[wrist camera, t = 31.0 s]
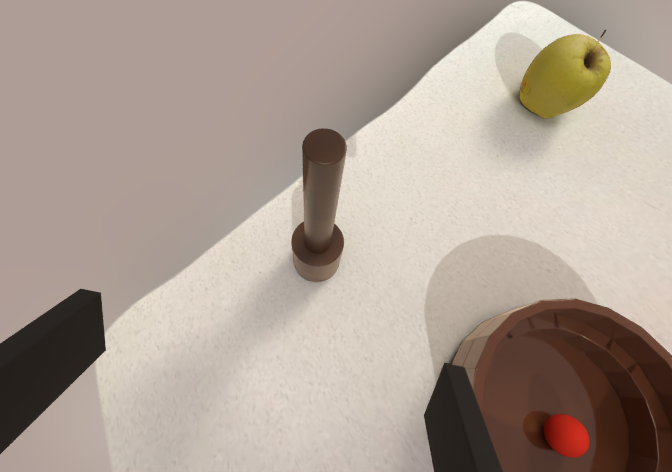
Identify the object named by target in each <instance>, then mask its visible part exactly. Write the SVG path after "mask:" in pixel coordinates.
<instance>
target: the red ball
mask: <svg viewBox="0 0 672 472" xmlns="http://www.w3.org/2000/svg"><path fill="white" fill-rule="evenodd" d="M544 435H545V438H546V440H547V442H548V444H549V445H550V446H551V447H552V449H554V450H555V451H556V452H557V453H559V454H561V455H563V456H566V457H570V458H576V457H580V456H582V455H583V454H585V453H586V451H587V450H588V447H589V435H588V433H587V431H586V429H585V427H584V426H583V425H582V424H581V423H580V422H579V421H578V420H577V419H575V418H574V417H572V416H569V415H566V414H555V415H553V416H551V417H549V418H548V419H547V421H546V422H545V425H544Z"/></svg>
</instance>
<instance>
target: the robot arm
mask: <svg viewBox="0 0 672 472" xmlns="http://www.w3.org/2000/svg"><path fill="white" fill-rule="evenodd" d="M105 351H106V347H105V336H104V324H103V313H102V302H101V293H99V292H94V291H89V290H84V289H80V290H78V291H77V292H75V293H74V294H72V295H71V296H69V297H68V298H66V299H65V300H63V301H62V302H60V303H59V304H58V305H56V306H55V307H53V308H52V309H50V310H49V311H47V312H46V313H44V314H43V315H41V316H40V317H38V318H37V319H36V320H34V321H33V322H31V323H30V324H28V325H27V326H25V327H24V328H22V329H21V330H20V331H18V332H17V333H15V334H14V335H12V336H11V337H9V338H8V339H6V340H5V341H3V342H2V343H0V454H1V453H2V452H3V451H4V450H5V449H6V448H7V447H8V446H9V445H10V444H11V443H12V442H13V441H14V440H15V439H16V438H17V437H18V436H19V435H20V434H21V433H22V432H23V431H24V430H25V429H26V428H27V427H28V426H29V425H30V424H31V423H32V422H33V421H34V420H36V419H37V418H38V417H39V415H41V414H42V413H43V412H44V411H45V410H46V408H48V407H49V406H50V405H51V404H52V402H54V401H55V400H56V399H57V398H58V397H59V396H60V395H61V394H62V393H63V392H64V391H65V390H66V389H67V388H68V387H69V386H70V385H71V384H72V383H73V382H74V381H75V380H76V379H77V378H78V377H79V376H80V375H81V374H82V373H83V372H84V371H85V370H86V369H87V368H88V367H89V366H90V365H91V364H92V363H93V362H94V361H95V360H96V359H97V358H98V357H99V356H100V355H101V354H102V353H104V352H105ZM424 419H425V424H426V430H427V435H428V440H429V446H430V451H431V457H432V462H433V468H434V472H503V471H502V468H501V465H500V463H499V460H498V457H497V454H496V452H495V449H494V446H493V443H492V441H491V438H490V435H489V432H488V430H487V427H486V424H485V421H484V419H483V416H482V413H481V410H480V408H479V405H478V402H477V400H476V397H475V394H474V391H473V389H472V386H471V383H470V380H469V378H468V375H467V372H466V369H465V367H462V366H457V365H452V364H447V363H444V366H443V368H442V371H441V373H440V376H439V378H438V381H437V383H436V386H435V388H434V391H433V394H432V396H431V399H430V401H429V404H428V406H427V409H426V411H425V414H424Z"/></svg>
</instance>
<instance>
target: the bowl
mask: <svg viewBox="0 0 672 472" xmlns="http://www.w3.org/2000/svg"><path fill="white" fill-rule="evenodd" d="M452 365H457V366H462V367H465V369H466V372H467V375H468V378H469V380H470V383H471V386H472V389H473V391H474V394H475V397H476V400H477V402H478V405H479V408H480V410H481V413H482V416H483V419H484V421H485V424H486V427H487V430H488V432H489V435H490V438H491V441H492V443H493V446H494V449H495V452H496V454H497V457H498V460H499V463H500V465H501V468H502V471H503V472H672V355H671V354H670V353H669V352H668V351H667V350H666V349H665V348H663V347H662V346H661V345H660V344H659V343H658V342H657V341H656V340H655V339H654V338H653V337H652V336H651V335H650V334H649V333H648V332H646V331H645V330H644V329H643V328H642V327H641V326H639V325H637V324H635V323H634V322H632V321H630V320H629V319H627V318H625V317H623V316H622V315H620V314H618V313H617V312H615V311H613V310H611V309H609V308H607V307H603V306H600V305H596V304H593V303H589V302H585V301H582V300H578V299H554V300H540V301H537V302H534V303H531V304H528V305H525V306H522V307H519V308H516V309H513V310H510V311H507V312H505V313H503V314H500V315H498V316H496V317H493V318H491V319H488V320H486V321H484V322H482V323H481V324H480V325H479V326H478V327H477V328H476V329H475V330H474V331H473V332H472V333H471V334H470V335H469V336H468V337H467V338H466V339H465V340H464V341H463V342H462V343H461V345H460V347H459V350H458V352H457V354H456V356H455V358H454V360H453V362H452ZM555 414H566V415H569V416H572V417H574V418H575V419H577V420H578V421H579V422H580V423H581V424H582V425H583V426H584V427H585V429H586V431H587V433H588V435H589V447H588V450H587V451H586V453H585V454H583V455H582V456H580V457H576V458H570V457H566V456H563V455H561V454H559V453H557V452H556V451H555V450H554V449H552V447H551V446H550V445H549V444H548V442H547V440H546V438H545V435H544V425H545V422H546V421H547V419H548V418H549V417H551V416H553V415H555Z"/></svg>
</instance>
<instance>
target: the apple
mask: <svg viewBox="0 0 672 472" xmlns="http://www.w3.org/2000/svg"><path fill="white" fill-rule="evenodd" d="M605 31H606V30H605ZM605 31H604V32H603V34H602V36H603V35H604V33H605ZM602 36H601V37H602ZM600 39H601V38H600ZM600 39H599V40H600ZM610 69H611V62H610V57H609V55H608V53H607V52H606V50H605V49H604V48H603V47H602V46H601V44H600V43H599V41H598V42H597V41H596V40H594V39H593V38H591V37H588V36H586V35H580V34H574V35H568V36H564V37H561V38H559V39H557V40H555V41H554V42H552V43H551V44H549V45H548V46H547V47H545V48H544V49H543V50H542V51H541V52H540V53H539V54H538V55H537V56H536V57H535V59H534V60H533V61H532V63H531V64H530V66H529V67H528V69H527V71H526V73H525V75H524V78H523V80H522V84H521V88H520V100H521V102H522V104H523V105H524V106H525V107H527V108H528V109H529V110H530V111H532V112H533V113H535V114H537V115H538V116H540V117H542V118H552V117H555V116H558V115H560V114H563V113H565V112H568V111H570V110H573V109H575V108H577V107H579V106H581V105H583V104H584V103H585V102H587V101H588V100H589V99H591V98H592V97H593V96H594V95H595V94H596V93H597V92H598V91H599V90H600V89H601V87H602V86H603V84H604V83H605V81H606V79H607V77H608V75H609V73H610Z"/></svg>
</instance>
